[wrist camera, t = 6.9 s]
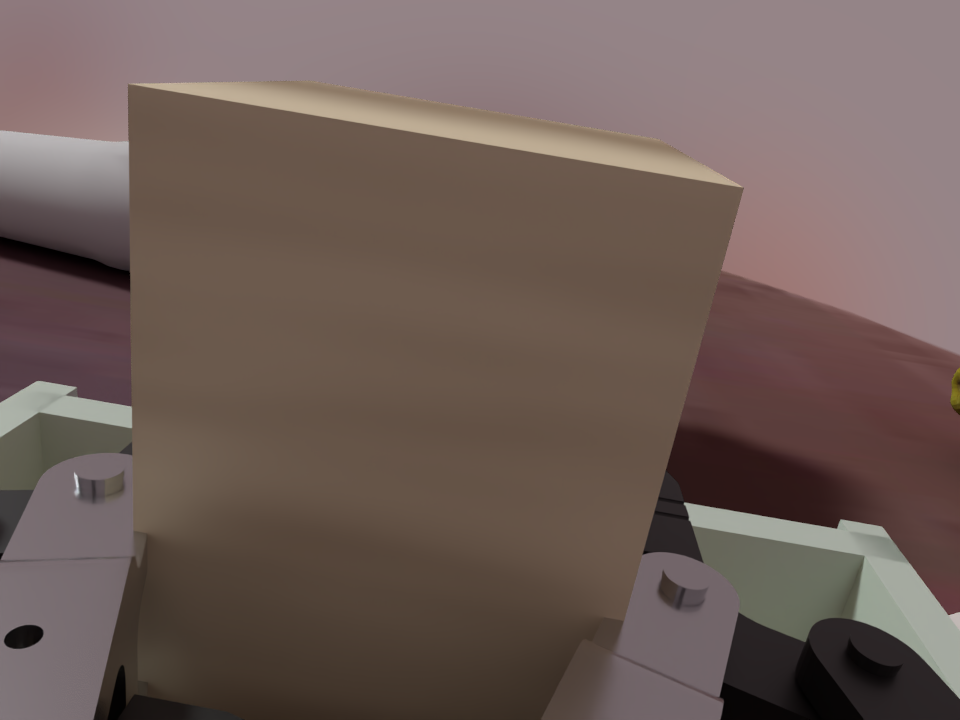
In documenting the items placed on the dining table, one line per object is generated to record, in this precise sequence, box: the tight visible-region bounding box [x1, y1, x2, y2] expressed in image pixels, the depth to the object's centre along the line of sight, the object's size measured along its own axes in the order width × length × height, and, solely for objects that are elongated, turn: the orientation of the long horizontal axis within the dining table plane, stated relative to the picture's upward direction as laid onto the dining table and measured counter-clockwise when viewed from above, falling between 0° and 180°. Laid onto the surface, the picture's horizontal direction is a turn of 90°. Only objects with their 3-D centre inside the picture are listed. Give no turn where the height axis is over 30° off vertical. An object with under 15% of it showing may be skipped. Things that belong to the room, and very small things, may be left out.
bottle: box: [0, 130, 130, 272], centre depth 55 cm, size 9×9×30 cm
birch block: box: [128, 81, 744, 720], centre depth 11 cm, size 5×5×12 cm
